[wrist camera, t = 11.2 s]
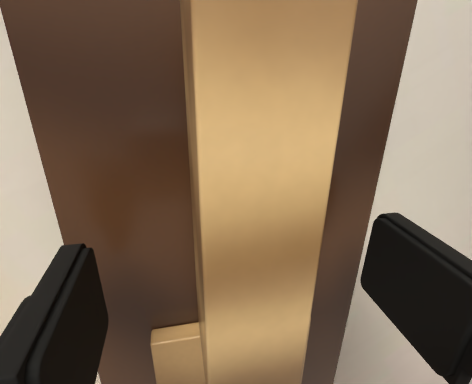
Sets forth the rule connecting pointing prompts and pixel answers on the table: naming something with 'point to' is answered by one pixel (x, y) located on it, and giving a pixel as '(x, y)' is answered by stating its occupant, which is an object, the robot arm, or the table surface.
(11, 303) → the table surface
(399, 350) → the table surface
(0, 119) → the table surface
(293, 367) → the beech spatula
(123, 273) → the walnut board
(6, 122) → the table surface
